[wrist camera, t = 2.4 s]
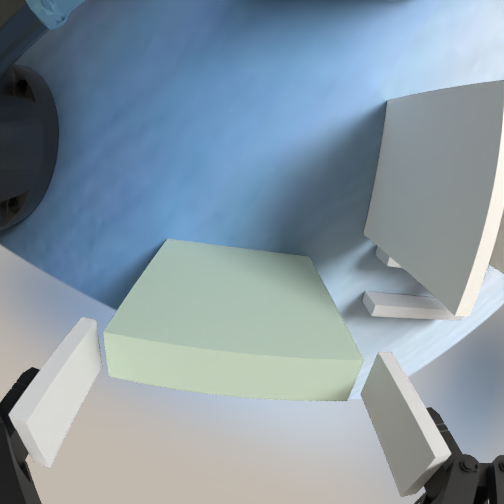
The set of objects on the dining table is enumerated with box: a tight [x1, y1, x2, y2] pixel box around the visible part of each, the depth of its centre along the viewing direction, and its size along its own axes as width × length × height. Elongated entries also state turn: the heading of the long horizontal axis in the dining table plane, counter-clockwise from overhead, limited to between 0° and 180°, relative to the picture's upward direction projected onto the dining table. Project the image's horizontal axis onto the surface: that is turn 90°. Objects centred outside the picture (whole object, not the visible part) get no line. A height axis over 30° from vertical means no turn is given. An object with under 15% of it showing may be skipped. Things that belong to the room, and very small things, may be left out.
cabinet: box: [362, 80, 504, 320], centre depth 18 cm, size 13×17×13 cm
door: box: [103, 239, 364, 401], centre depth 19 cm, size 11×4×13 cm, turn 82°
